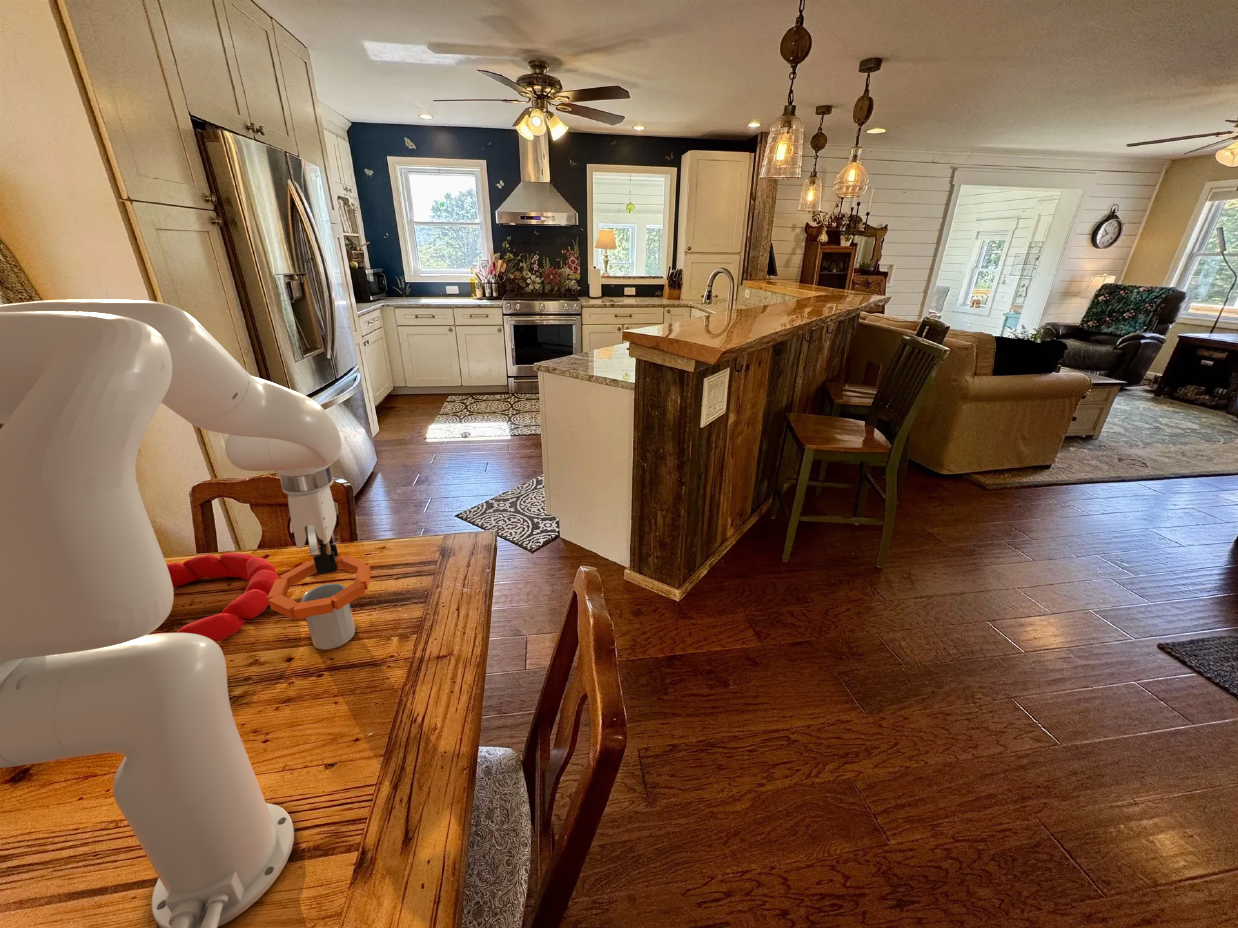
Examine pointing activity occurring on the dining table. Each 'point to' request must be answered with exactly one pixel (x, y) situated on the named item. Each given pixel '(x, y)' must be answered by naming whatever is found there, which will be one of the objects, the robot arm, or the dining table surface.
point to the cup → (329, 620)
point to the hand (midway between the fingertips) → (328, 567)
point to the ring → (318, 606)
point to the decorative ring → (243, 606)
